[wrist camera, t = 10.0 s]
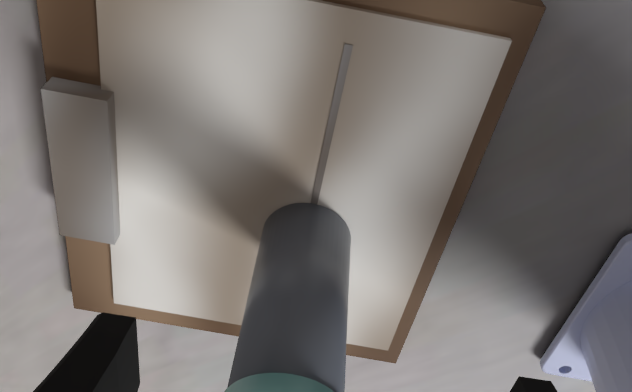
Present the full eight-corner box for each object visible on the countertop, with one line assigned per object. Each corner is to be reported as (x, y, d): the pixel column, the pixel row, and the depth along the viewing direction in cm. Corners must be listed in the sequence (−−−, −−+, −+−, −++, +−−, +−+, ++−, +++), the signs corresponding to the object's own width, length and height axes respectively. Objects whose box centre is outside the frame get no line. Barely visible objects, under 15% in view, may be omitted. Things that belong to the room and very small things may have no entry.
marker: (362, 210, 20) (358, 441, 14) (343, 278, 22) (331, 507, 16) (265, 192, 20) (212, 417, 13) (255, 262, 22) (204, 487, 16)
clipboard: (541, 0, 16) (552, 18, 15) (395, 352, 26) (396, 379, 25) (34, -103, 16) (9, -91, 15) (79, 297, 26) (66, 322, 24)
